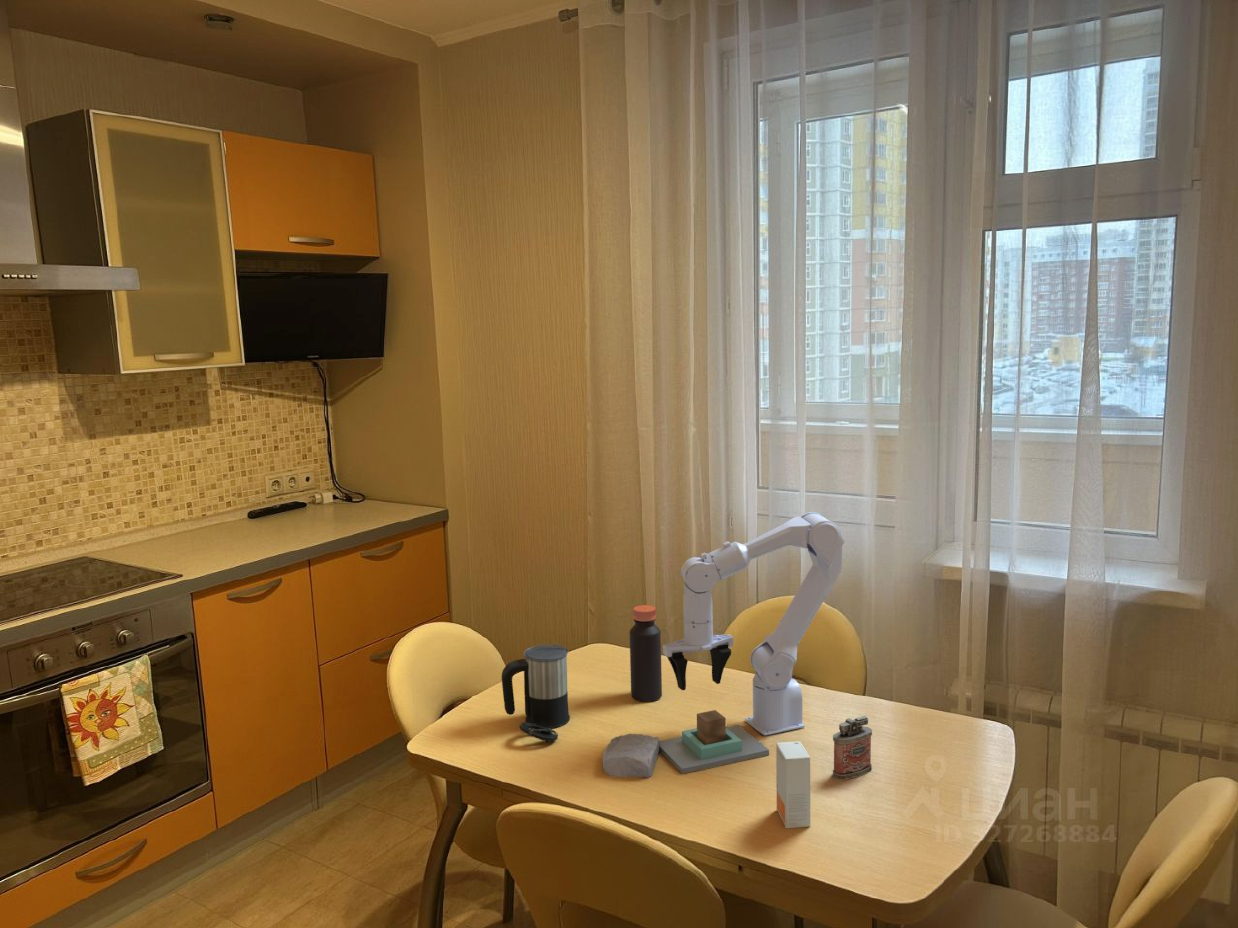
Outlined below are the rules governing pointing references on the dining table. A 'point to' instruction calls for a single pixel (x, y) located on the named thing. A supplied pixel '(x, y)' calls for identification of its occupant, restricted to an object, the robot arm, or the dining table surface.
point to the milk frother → (540, 690)
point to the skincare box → (793, 784)
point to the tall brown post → (711, 727)
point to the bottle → (645, 655)
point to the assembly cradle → (711, 750)
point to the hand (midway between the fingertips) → (699, 685)
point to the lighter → (852, 749)
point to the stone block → (631, 756)
